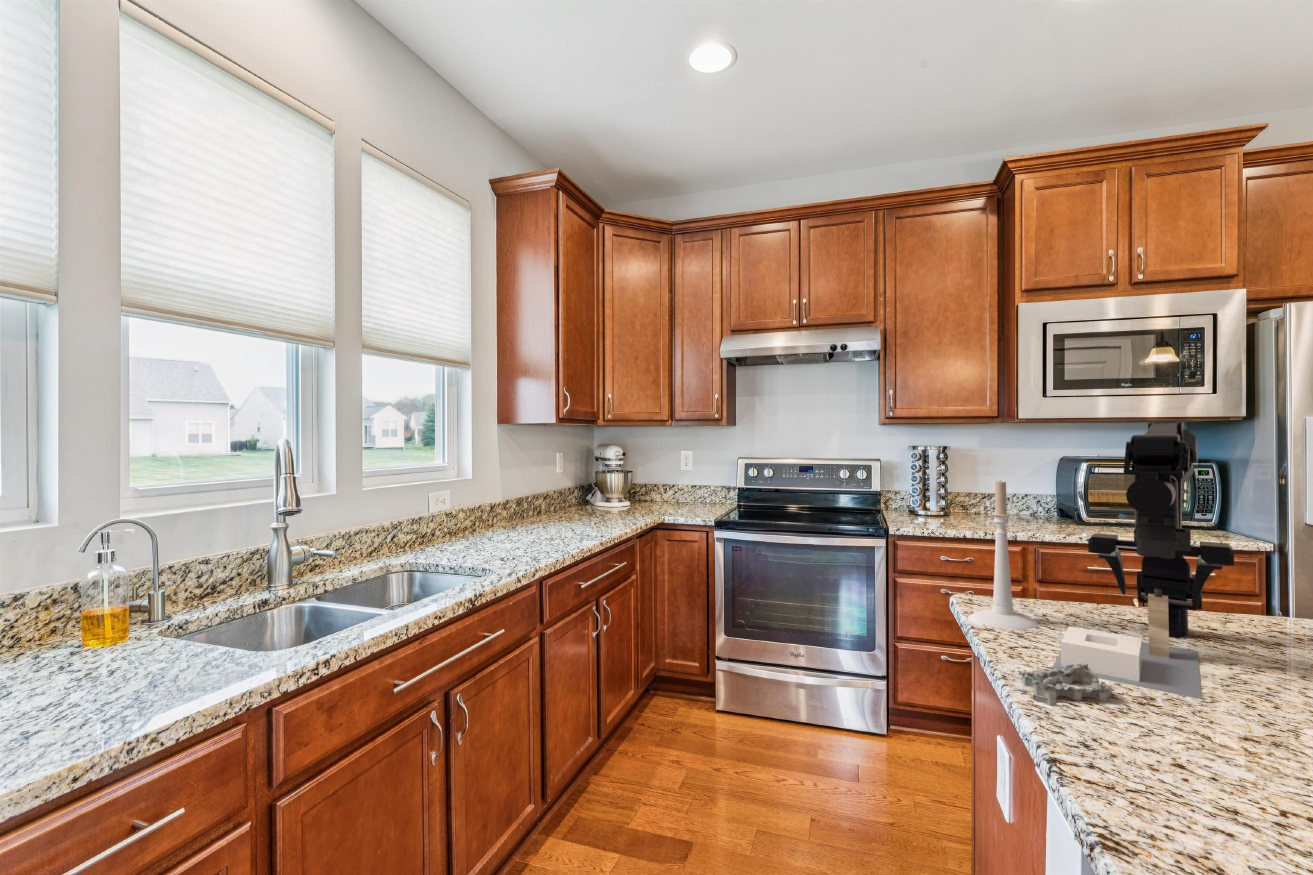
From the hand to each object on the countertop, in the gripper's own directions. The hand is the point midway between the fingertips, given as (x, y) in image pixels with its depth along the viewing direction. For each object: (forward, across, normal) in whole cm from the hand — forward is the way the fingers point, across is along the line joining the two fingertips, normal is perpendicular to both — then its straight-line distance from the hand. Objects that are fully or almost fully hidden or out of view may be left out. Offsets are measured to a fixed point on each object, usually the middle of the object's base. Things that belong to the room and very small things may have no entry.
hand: (1158, 598), depth 101 cm
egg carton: (+11, -10, -26) cm, 30 cm away
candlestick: (+11, -24, +5) cm, 27 cm away
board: (+11, -4, -6) cm, 13 cm away
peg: (+10, 0, 0) cm, 10 cm away
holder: (+10, -7, -11) cm, 16 cm away
